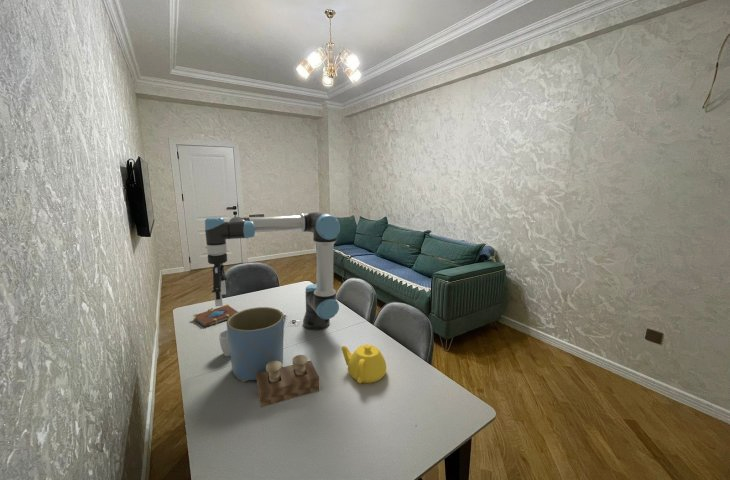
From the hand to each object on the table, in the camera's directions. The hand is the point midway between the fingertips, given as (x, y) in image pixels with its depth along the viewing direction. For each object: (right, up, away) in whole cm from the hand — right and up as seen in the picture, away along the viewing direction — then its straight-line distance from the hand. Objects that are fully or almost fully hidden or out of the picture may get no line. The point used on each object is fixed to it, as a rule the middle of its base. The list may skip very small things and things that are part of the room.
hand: (221, 299), depth 135 cm
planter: (+17, -30, -2) cm, 34 cm away
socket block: (+34, -32, -15) cm, 49 cm away
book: (-22, -20, +46) cm, 55 cm away
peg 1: (+29, -28, -18) cm, 44 cm away
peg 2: (+38, -28, -13) cm, 49 cm away
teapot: (+63, -31, -4) cm, 70 cm away
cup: (0, -27, +9) cm, 28 cm away
